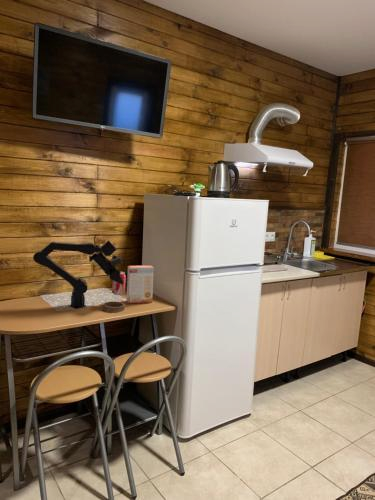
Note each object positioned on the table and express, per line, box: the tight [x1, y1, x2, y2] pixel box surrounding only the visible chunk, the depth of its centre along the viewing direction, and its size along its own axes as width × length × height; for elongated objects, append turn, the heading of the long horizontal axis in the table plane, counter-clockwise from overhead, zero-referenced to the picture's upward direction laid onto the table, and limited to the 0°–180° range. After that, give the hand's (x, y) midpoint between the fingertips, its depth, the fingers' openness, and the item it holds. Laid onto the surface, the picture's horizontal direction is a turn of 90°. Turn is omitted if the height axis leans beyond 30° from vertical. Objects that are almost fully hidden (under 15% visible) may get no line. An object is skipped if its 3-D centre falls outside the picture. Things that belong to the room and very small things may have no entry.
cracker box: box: [126, 265, 155, 304], centre depth 220 cm, size 14×6×21 cm, turn 111°
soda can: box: [111, 270, 127, 296], centre depth 210 cm, size 7×7×12 cm
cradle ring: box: [102, 301, 126, 313], centre depth 204 cm, size 11×11×2 cm
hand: (121, 282), depth 210 cm, fingers closed on soda can, 7 cm apart
